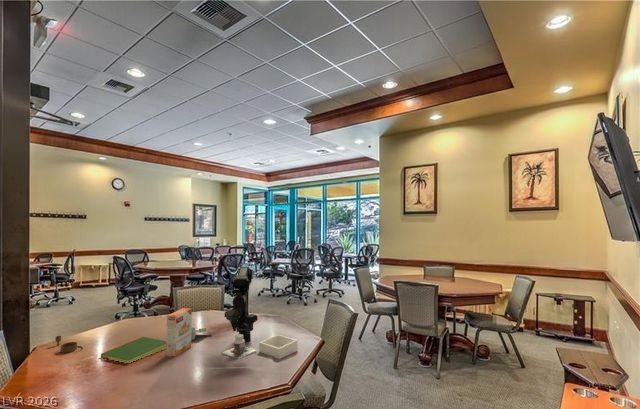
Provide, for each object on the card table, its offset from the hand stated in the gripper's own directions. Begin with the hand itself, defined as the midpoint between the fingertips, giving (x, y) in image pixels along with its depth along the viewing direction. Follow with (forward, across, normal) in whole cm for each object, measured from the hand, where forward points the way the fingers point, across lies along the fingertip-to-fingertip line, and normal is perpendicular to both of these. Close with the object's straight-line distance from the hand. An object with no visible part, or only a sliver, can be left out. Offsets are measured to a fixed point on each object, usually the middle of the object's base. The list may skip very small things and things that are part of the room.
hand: (240, 332), depth 174 cm
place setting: (+12, -79, -46) cm, 92 cm away
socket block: (+11, 0, 0) cm, 11 cm away
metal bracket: (+10, -35, +8) cm, 37 cm away
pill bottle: (+11, 0, 0) cm, 11 cm away
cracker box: (+11, -29, -16) cm, 35 cm away
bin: (+11, +14, +13) cm, 22 cm away
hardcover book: (+12, -45, -30) cm, 55 cm away
